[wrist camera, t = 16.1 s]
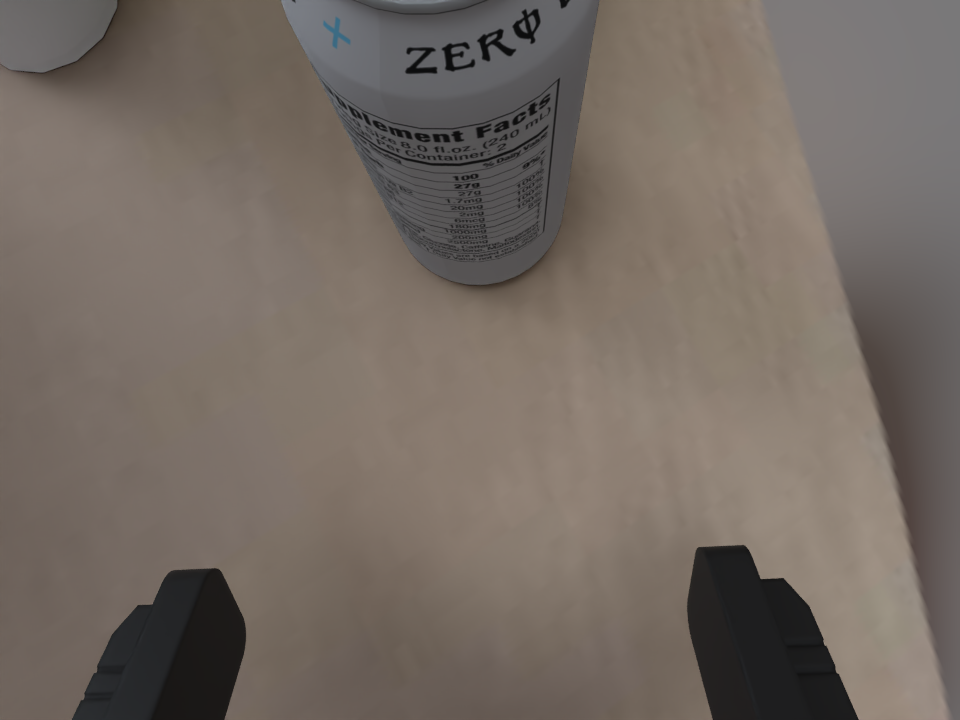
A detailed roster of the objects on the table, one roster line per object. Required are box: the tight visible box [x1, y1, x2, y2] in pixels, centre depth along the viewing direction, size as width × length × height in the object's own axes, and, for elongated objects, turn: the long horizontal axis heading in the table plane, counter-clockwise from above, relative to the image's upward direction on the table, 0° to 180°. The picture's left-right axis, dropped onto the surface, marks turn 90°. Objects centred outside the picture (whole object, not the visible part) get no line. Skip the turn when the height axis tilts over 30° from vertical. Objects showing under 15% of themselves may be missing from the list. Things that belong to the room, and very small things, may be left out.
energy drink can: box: [281, 0, 599, 285], centre depth 18 cm, size 6×6×15 cm
